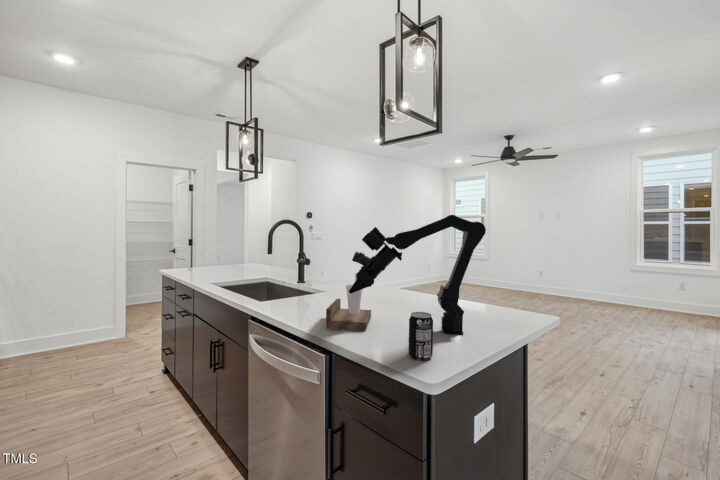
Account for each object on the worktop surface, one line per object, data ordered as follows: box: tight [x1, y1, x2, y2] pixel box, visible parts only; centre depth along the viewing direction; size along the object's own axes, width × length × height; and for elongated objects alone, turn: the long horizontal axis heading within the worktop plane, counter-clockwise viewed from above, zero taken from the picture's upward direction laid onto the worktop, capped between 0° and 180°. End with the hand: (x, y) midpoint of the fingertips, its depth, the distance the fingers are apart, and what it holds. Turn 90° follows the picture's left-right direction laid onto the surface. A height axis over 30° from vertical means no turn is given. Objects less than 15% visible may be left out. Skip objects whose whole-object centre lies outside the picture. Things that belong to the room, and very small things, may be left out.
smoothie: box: [345, 273, 364, 314], centre depth 119 cm, size 6×6×14 cm
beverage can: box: [408, 311, 434, 361], centre depth 93 cm, size 7×7×12 cm
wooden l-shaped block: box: [325, 298, 372, 332], centre depth 126 cm, size 14×18×7 cm
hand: (350, 290), depth 119 cm, fingers closed on smoothie, 6 cm apart
